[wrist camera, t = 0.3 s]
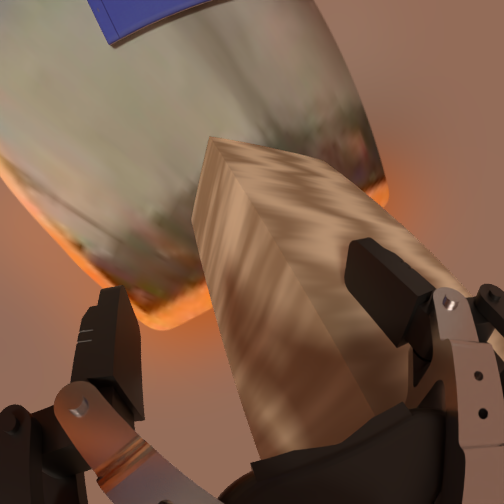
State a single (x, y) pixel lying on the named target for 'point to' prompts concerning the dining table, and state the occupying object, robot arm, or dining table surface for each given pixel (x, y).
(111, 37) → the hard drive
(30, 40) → the dining table surface
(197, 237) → the stand
